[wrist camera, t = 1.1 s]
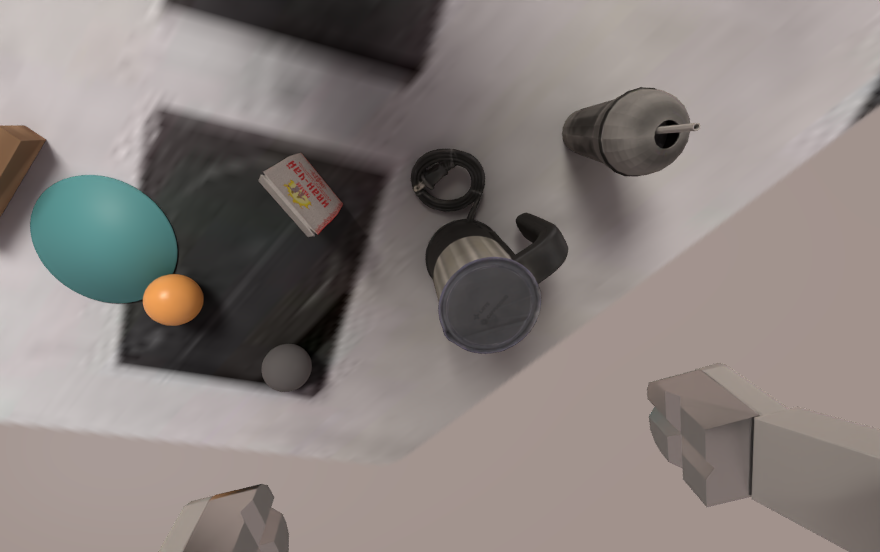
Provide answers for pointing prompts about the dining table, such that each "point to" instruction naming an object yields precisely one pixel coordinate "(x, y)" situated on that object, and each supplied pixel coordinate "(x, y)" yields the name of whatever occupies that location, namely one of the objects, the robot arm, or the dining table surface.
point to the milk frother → (484, 263)
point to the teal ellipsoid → (102, 238)
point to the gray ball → (286, 367)
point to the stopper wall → (16, 158)
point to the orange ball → (173, 299)
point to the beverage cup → (631, 131)
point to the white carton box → (302, 193)
